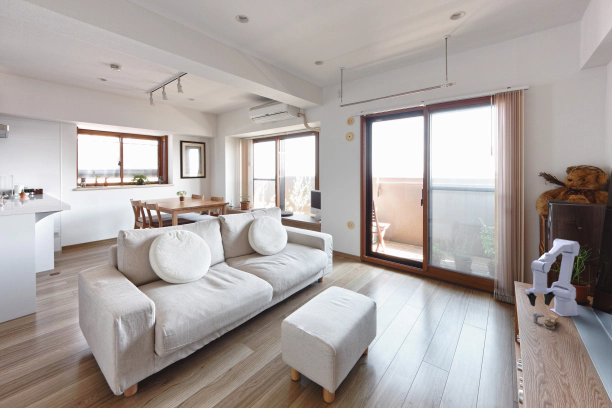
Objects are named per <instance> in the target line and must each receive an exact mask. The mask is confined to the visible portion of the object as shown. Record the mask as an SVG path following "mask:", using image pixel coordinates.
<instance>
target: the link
mask: <svg viewBox="0 0 612 408" xmlns="http://www.w3.org/2000/svg"><path fill="white" fill-rule="evenodd" d="M558 321H559V315H554V314H550V316H548V317H547V318H546V319H545V320H544V323H545V325H546V326H548V327H553V326H555V325H556V323H557V322H558Z"/></svg>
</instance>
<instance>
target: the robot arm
mask: <svg viewBox="0 0 612 408" xmlns="http://www.w3.org/2000/svg"><path fill="white" fill-rule="evenodd" d="M579 253H580V244H579V241H576V240H575V241H574V240H567V239H561V238H555V239H554V240H553V243H552V248H551V249H550V250H549V251H548V252H544V254H542V255H541V256H540V257H539V258H538V259H535V260H533V261H532V262H531V264H530V268H531V273H532V275H533V278H532V279H533V280H532V281H533V282H532V283H533V287H531V288H527V289H525V290H524V293H525V295H526V297H528V300H529V303H530V306H533V307H535V306H536V300H537V295H536V294H543V299H544V304H545V305H546V306H547V307H549V306H550V304H551V302H552V300H553V299H554V306H553V307H554V308H550V309H549V310H550V311H552V312H554V313H555V314H557V315H558V316H560V317H573V316H579V314H578V303H577V300H575V299H576V298H577V289H576V287H575V286H574V285H573V284H571V281H572V280H571V278H572V275H573V273H572V272H573V267H574V261H575V258H576V256H577V257H578V256H579ZM559 255H562V256H561V257H562V259H561V264H560V271H559V276H558V281H554V282H552V284H551V287H548V273H549V272H550V269H551V267H552V265H553V264H554V263H555V262H556V261H557V257H558V256H559Z"/></svg>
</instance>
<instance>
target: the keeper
mask: <svg viewBox="0 0 612 408" xmlns="http://www.w3.org/2000/svg"><path fill="white" fill-rule="evenodd" d="M532 316H533V322H534V323H535V324H538V322H539V320H538V319H539V318H544V317H545V315H544V314H542V313H541V312H536V313H532Z"/></svg>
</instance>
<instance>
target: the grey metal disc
mask: <svg viewBox="0 0 612 408" xmlns="http://www.w3.org/2000/svg"><path fill="white" fill-rule="evenodd" d="M542 327H544V328H546V329H548V330H553V331H554V330H556V327H555V325H554V326H553V327H548V326H546V325H545V322H543V324H542Z"/></svg>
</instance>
